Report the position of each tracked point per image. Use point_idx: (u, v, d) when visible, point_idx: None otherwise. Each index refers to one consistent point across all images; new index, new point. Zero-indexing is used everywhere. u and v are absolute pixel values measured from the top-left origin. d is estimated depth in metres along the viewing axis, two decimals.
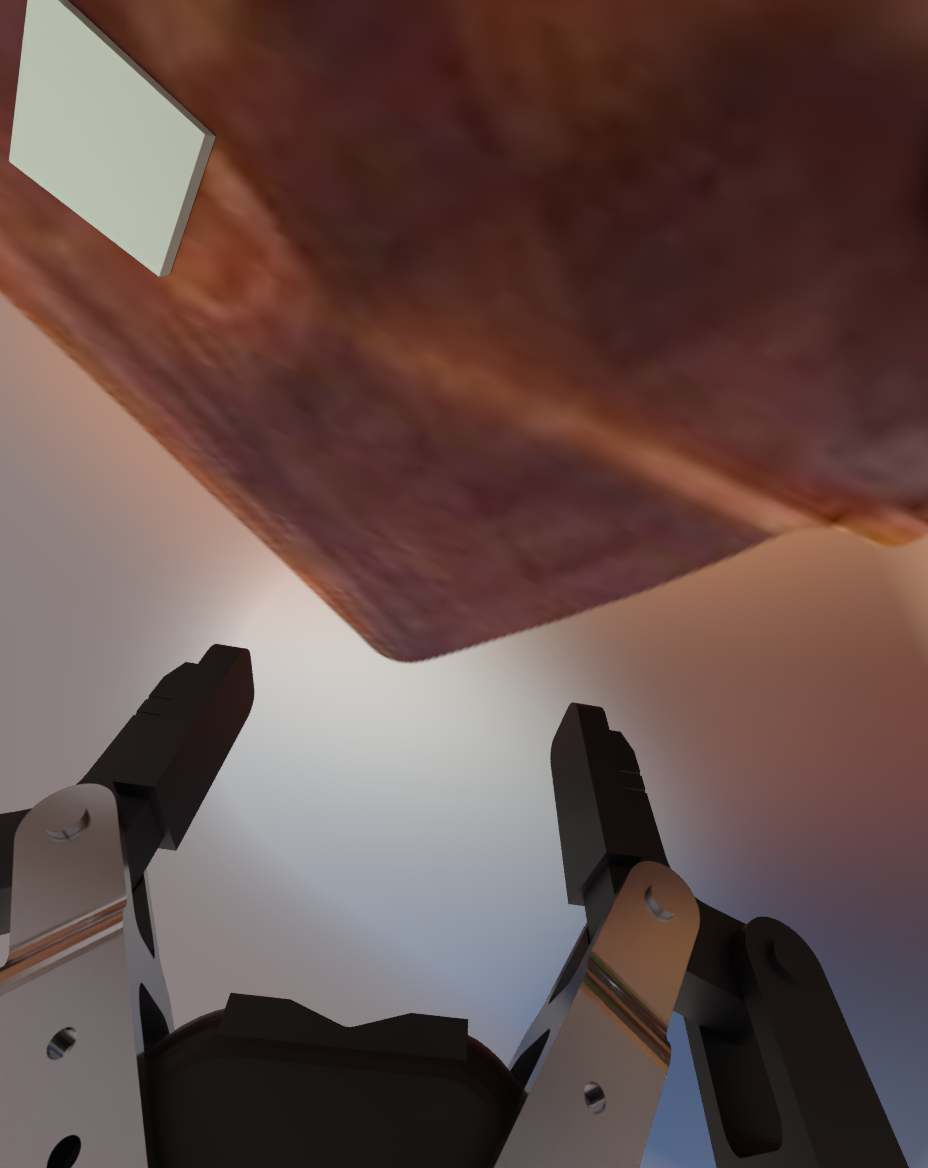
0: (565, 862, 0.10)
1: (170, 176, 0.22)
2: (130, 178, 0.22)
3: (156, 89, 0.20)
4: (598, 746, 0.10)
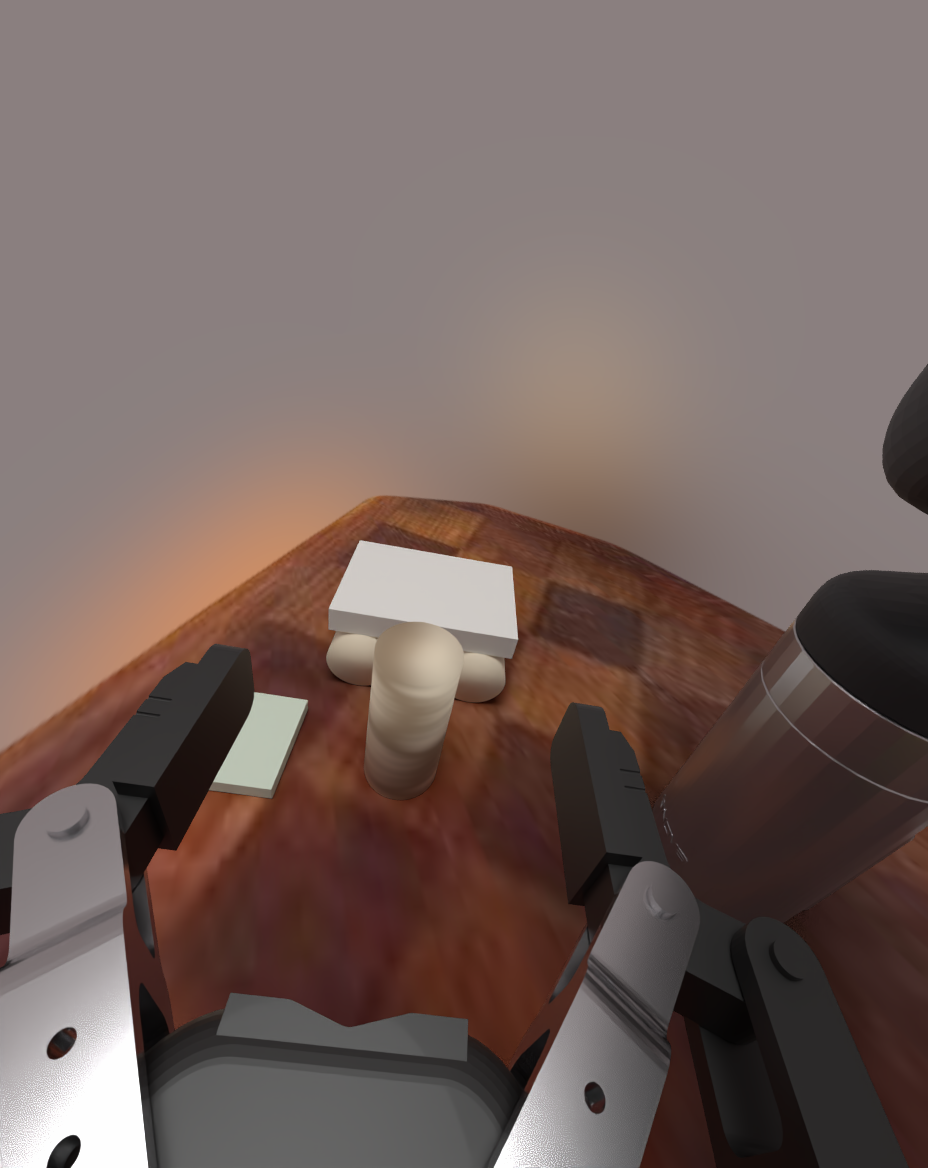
0: (565, 862, 0.10)
1: (235, 772, 0.29)
2: None
3: (284, 758, 0.30)
4: (598, 746, 0.10)
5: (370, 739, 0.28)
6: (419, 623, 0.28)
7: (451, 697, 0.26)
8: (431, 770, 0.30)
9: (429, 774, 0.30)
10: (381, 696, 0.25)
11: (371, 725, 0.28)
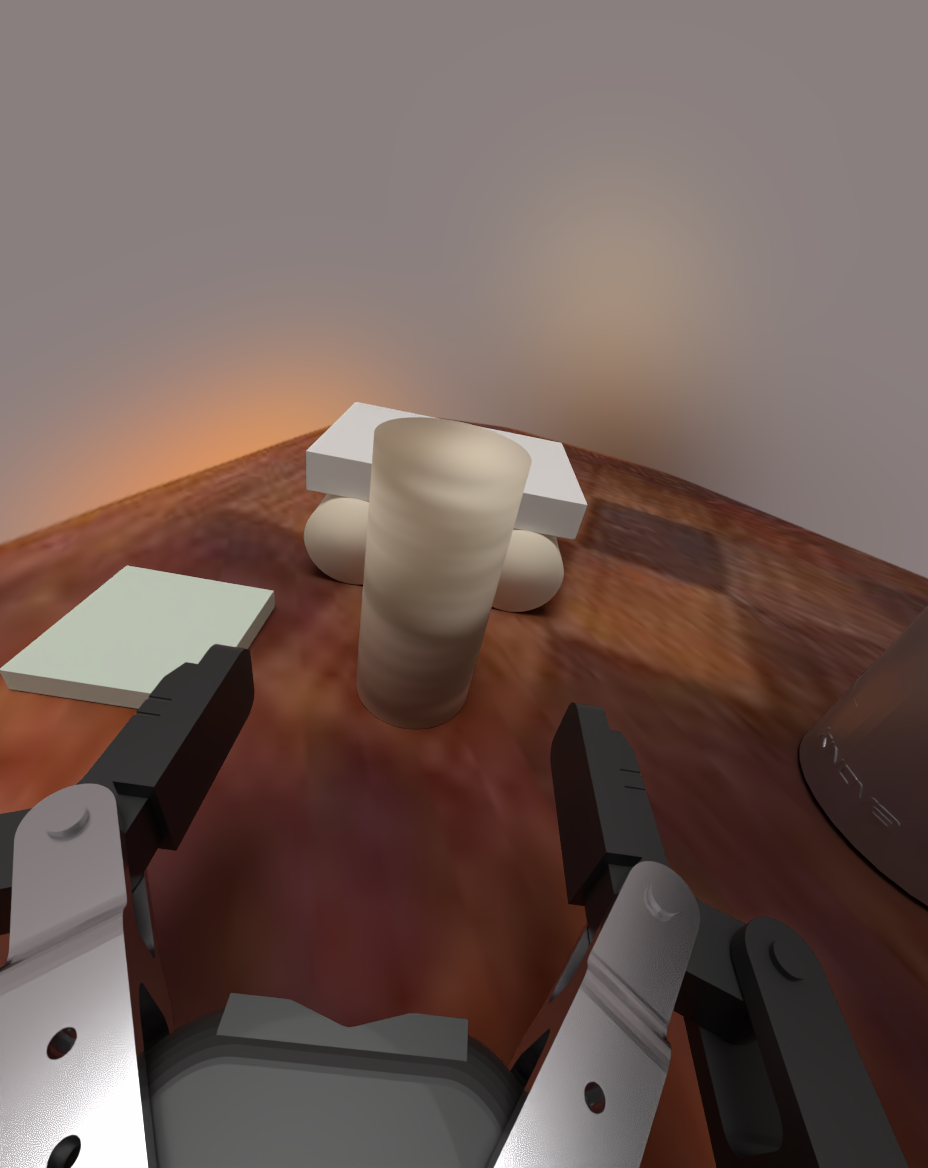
0: (565, 862, 0.10)
1: (142, 674, 0.17)
2: (131, 642, 0.18)
3: None
4: (598, 746, 0.10)
5: (366, 620, 0.17)
6: (449, 421, 0.16)
7: (508, 529, 0.15)
8: (464, 680, 0.18)
9: (461, 686, 0.18)
10: (386, 518, 0.14)
11: (367, 591, 0.16)
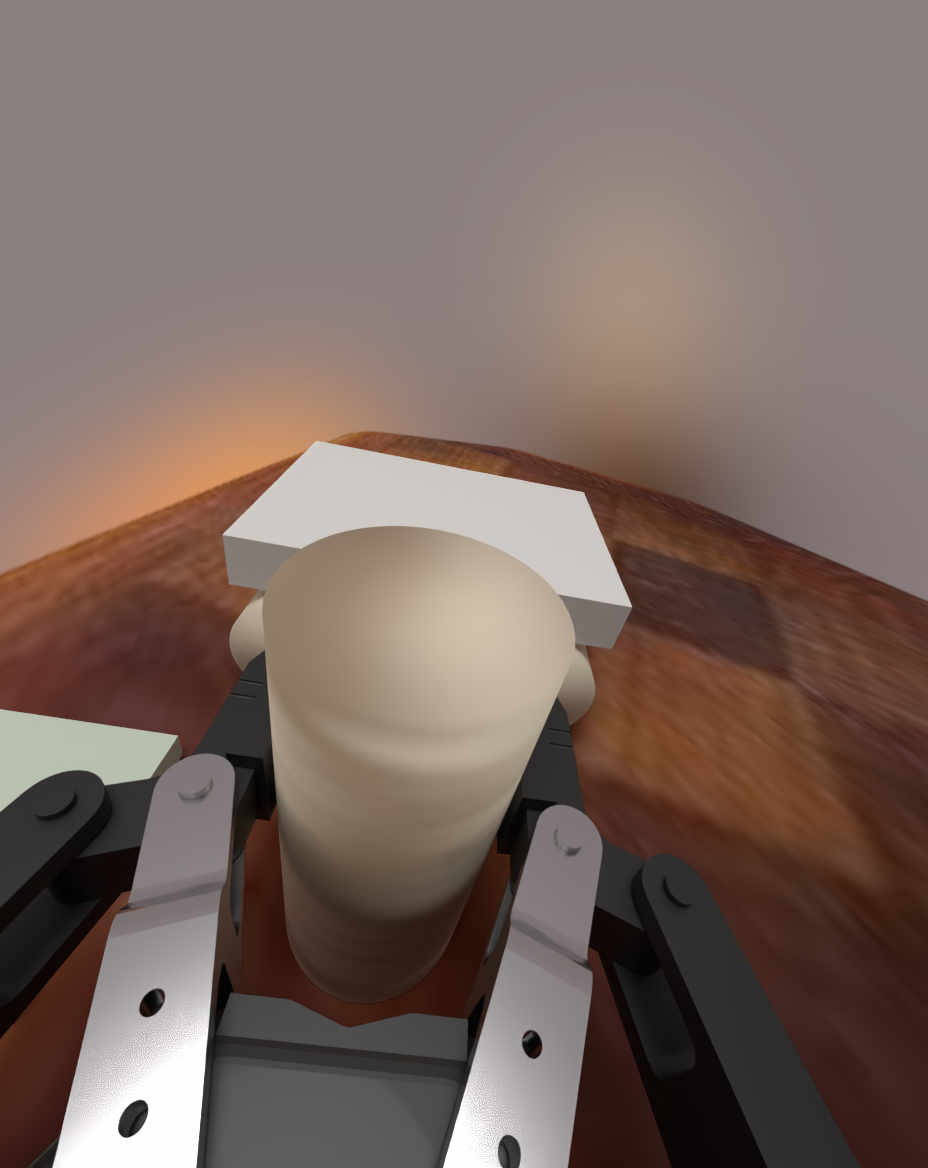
0: None
1: None
2: None
3: None
4: None
5: (283, 863, 0.10)
6: (423, 531, 0.10)
7: (530, 755, 0.08)
8: (451, 930, 0.11)
9: (446, 939, 0.11)
10: (290, 759, 0.07)
11: (280, 830, 0.09)
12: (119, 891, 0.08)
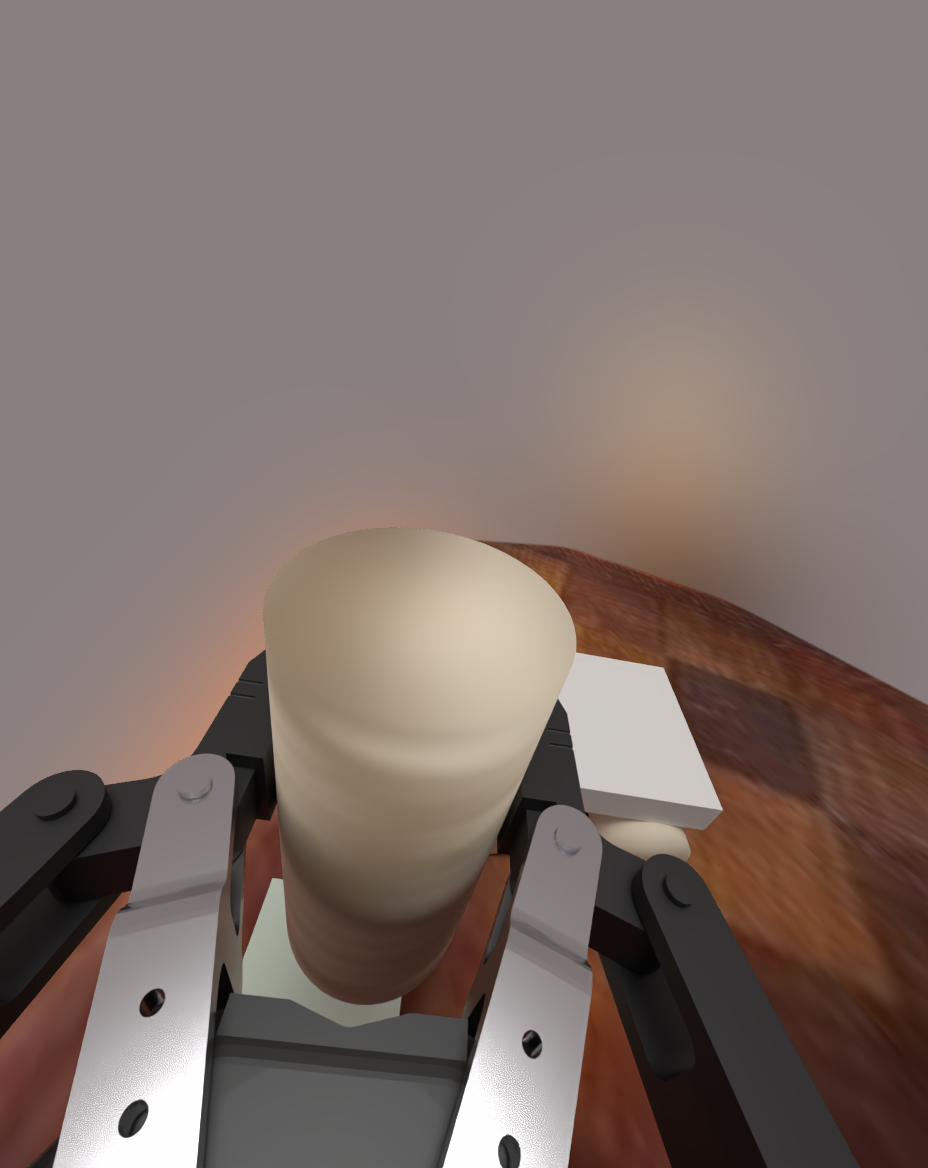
0: None
1: None
2: None
3: None
4: None
5: (283, 865, 0.10)
6: (424, 532, 0.10)
7: None
8: (452, 931, 0.11)
9: (447, 940, 0.11)
10: (291, 761, 0.07)
11: (281, 832, 0.09)
12: (118, 891, 0.08)
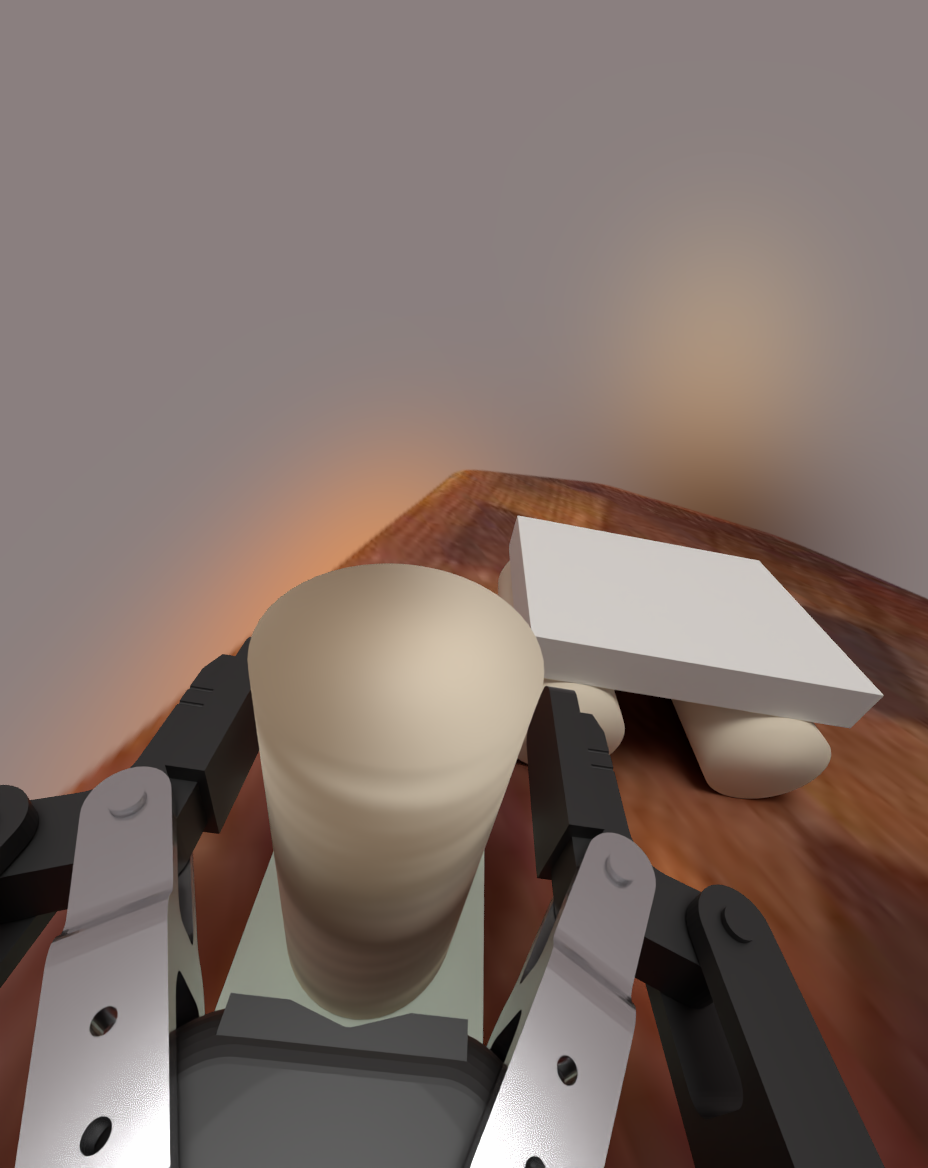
0: (536, 838, 0.10)
1: None
2: None
3: (482, 975, 0.13)
4: (567, 726, 0.10)
5: (279, 887, 0.10)
6: (405, 568, 0.10)
7: (506, 785, 0.08)
8: (444, 947, 0.12)
9: (439, 956, 0.12)
10: (278, 795, 0.08)
11: (274, 856, 0.10)
12: (49, 910, 0.08)
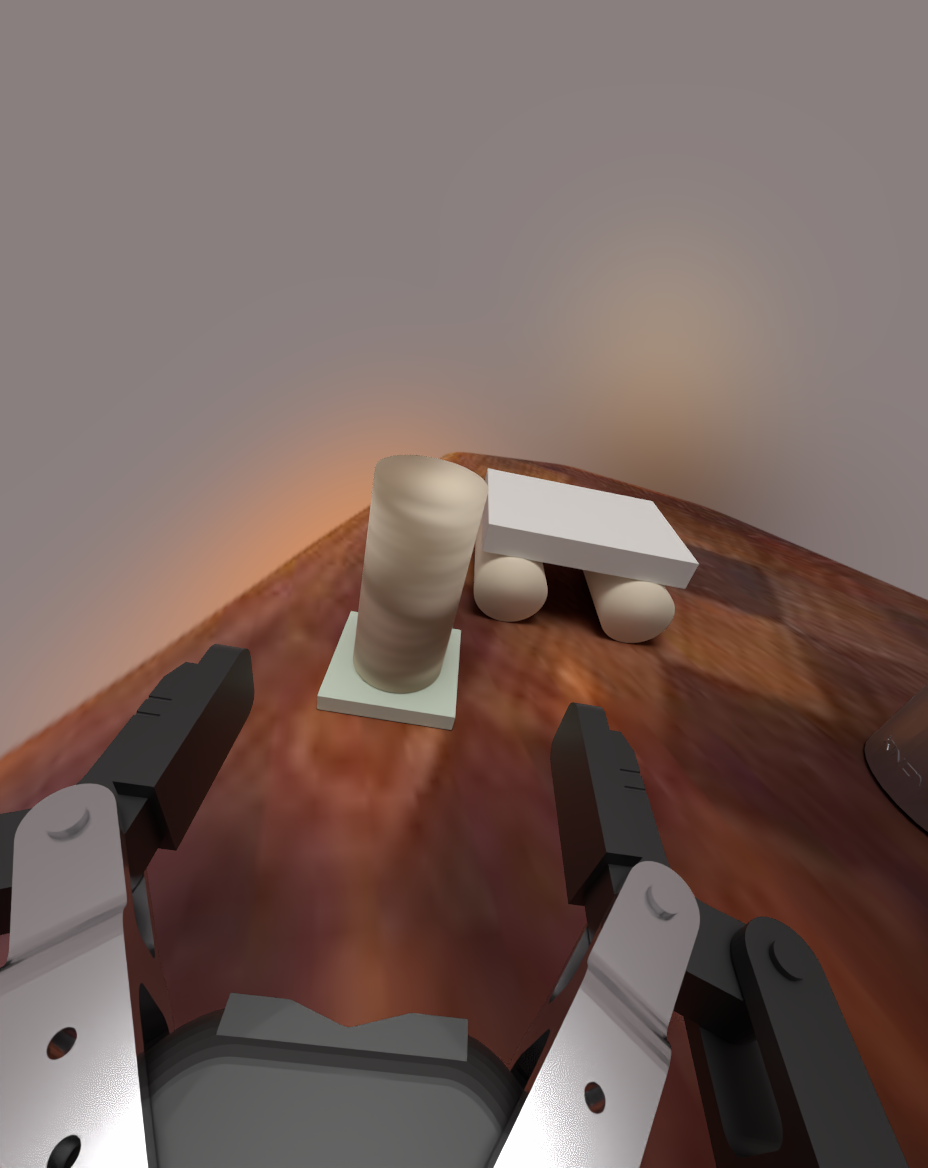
0: (566, 862, 0.10)
1: (409, 698, 0.24)
2: None
3: (456, 687, 0.25)
4: (598, 745, 0.10)
5: (363, 605, 0.22)
6: (431, 458, 0.22)
7: (470, 540, 0.20)
8: (437, 655, 0.24)
9: (434, 660, 0.24)
10: (381, 528, 0.20)
11: (365, 583, 0.22)
12: None
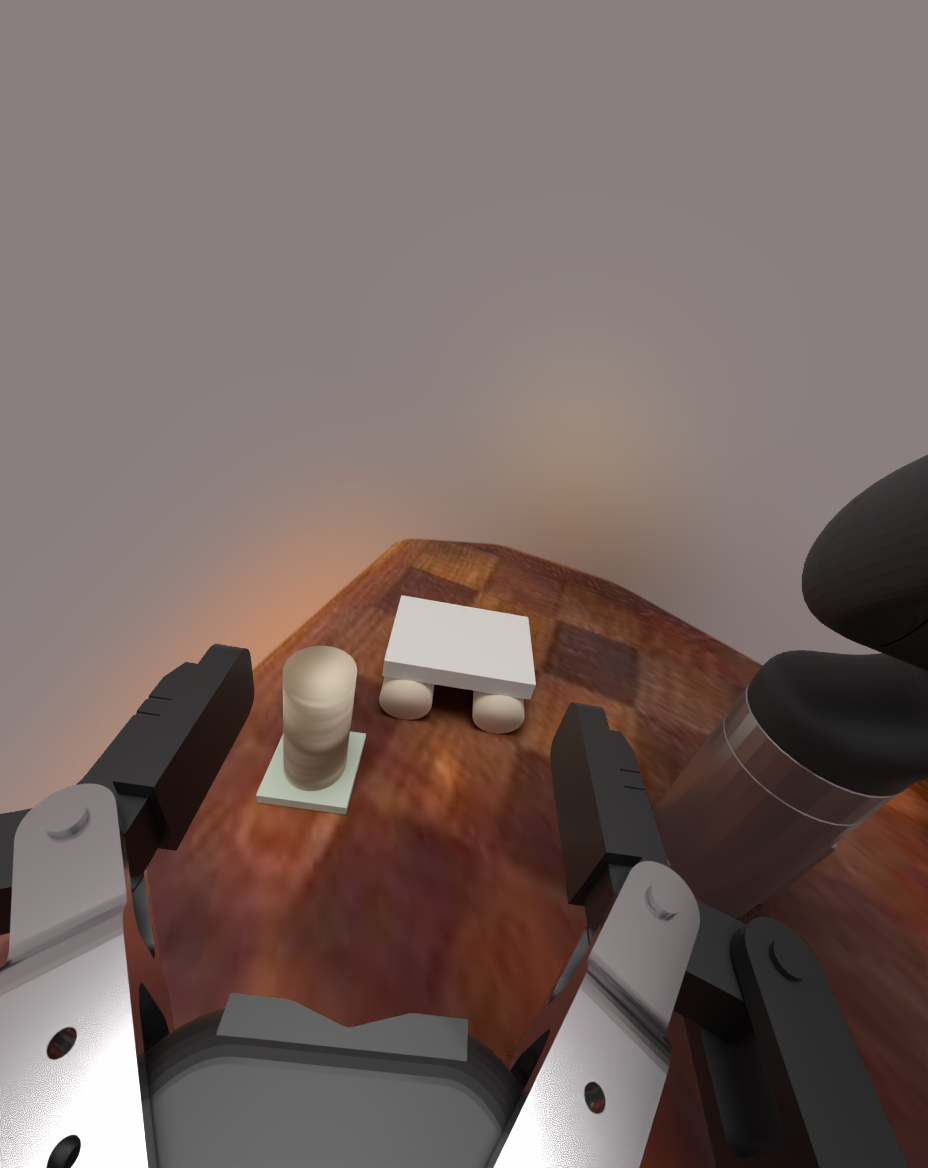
0: (565, 862, 0.10)
1: (317, 794, 0.37)
2: None
3: (353, 783, 0.38)
4: (598, 745, 0.10)
5: (283, 738, 0.35)
6: (327, 647, 0.34)
7: (344, 709, 0.33)
8: (334, 767, 0.36)
9: (333, 770, 0.36)
10: (286, 704, 0.32)
11: (283, 727, 0.34)
12: None
